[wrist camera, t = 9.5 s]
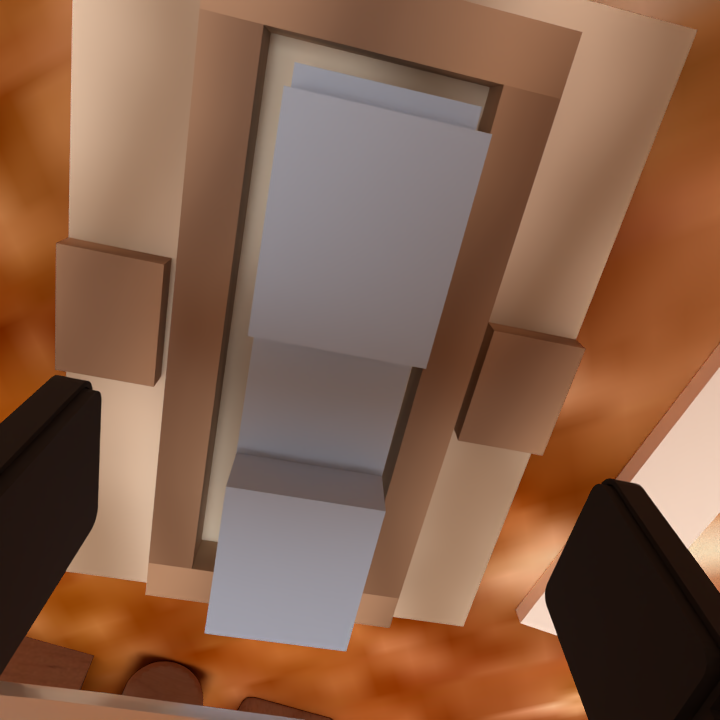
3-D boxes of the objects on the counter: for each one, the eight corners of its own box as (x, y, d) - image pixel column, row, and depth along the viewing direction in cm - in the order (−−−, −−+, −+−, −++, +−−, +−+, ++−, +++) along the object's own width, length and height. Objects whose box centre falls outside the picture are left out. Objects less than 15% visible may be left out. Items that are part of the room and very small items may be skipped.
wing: (848, 318, 20) (878, 330, 19) (588, 626, 25) (599, 649, 24) (760, 271, 19) (786, 280, 18) (512, 600, 25) (520, 623, 24)
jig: (684, 32, 16) (733, 21, 14) (460, 614, 24) (470, 658, 22) (85, -130, 14) (44, -169, 12) (69, 559, 22) (43, 601, 20)
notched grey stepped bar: (305, 74, 15) (288, 54, 10) (449, 108, 16) (500, 105, 11) (232, 543, 21) (198, 675, 16) (336, 558, 22) (334, 691, 17)
